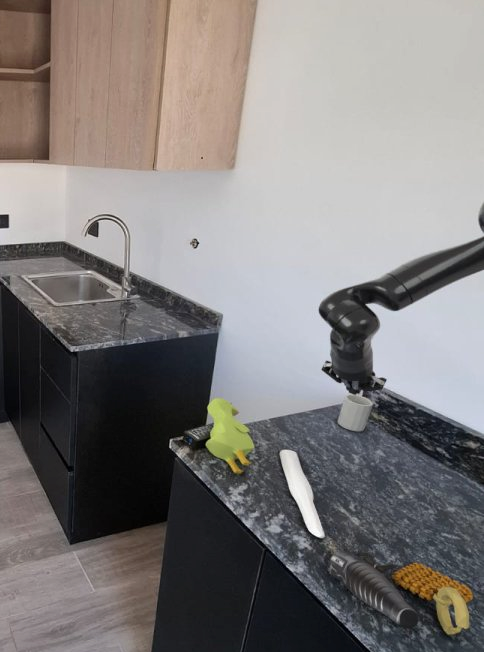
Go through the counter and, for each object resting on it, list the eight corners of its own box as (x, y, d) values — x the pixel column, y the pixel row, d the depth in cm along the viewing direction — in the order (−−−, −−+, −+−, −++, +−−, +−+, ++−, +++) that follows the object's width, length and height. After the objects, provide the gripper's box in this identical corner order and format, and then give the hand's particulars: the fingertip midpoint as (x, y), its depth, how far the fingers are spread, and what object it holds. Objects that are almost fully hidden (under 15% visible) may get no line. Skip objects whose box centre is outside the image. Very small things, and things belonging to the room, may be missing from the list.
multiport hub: (228, 438, 116) (230, 430, 115) (195, 449, 111) (196, 441, 110) (214, 429, 119) (216, 421, 118) (181, 439, 115) (183, 431, 114)
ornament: (451, 591, 79) (507, 661, 65) (377, 576, 82) (415, 640, 68) (457, 553, 78) (515, 617, 64) (383, 540, 82) (422, 597, 67)
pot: (357, 420, 127) (365, 395, 124) (368, 432, 121) (377, 407, 118) (333, 417, 127) (341, 392, 125) (343, 430, 122) (351, 404, 119)
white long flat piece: (329, 540, 86) (330, 529, 85) (303, 537, 87) (304, 526, 86) (296, 455, 111) (297, 446, 110) (276, 453, 112) (277, 444, 112)
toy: (286, 463, 104) (240, 396, 119) (229, 457, 98) (188, 386, 113) (267, 480, 107) (225, 412, 122) (212, 474, 101) (174, 404, 116)
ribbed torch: (409, 638, 70) (413, 629, 68) (319, 576, 79) (320, 566, 78) (435, 594, 73) (440, 584, 71) (345, 539, 83) (347, 530, 81)
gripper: (395, 352, 98) (393, 388, 110) (325, 333, 107) (330, 368, 119) (380, 382, 97) (379, 415, 109) (311, 360, 106) (317, 393, 118)
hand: (354, 390), depth 114 cm, fingers closed
